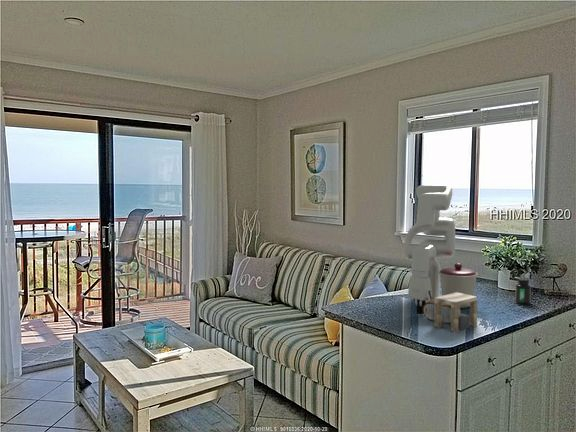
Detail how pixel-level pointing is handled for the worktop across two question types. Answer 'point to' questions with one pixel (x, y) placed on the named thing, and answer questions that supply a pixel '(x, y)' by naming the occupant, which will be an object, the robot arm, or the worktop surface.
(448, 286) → the canister
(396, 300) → the worktop surface
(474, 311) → the small wooden stool
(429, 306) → the tin
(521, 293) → the supplement bottle
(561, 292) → the worktop surface
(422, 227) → the robot arm
